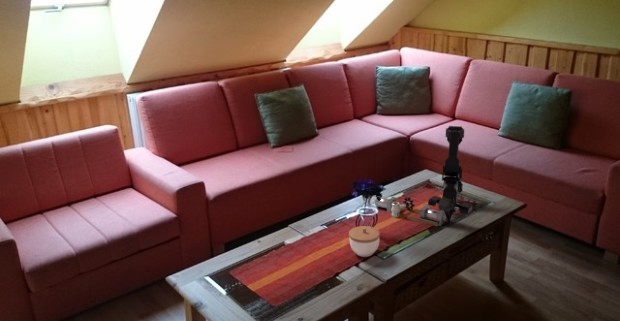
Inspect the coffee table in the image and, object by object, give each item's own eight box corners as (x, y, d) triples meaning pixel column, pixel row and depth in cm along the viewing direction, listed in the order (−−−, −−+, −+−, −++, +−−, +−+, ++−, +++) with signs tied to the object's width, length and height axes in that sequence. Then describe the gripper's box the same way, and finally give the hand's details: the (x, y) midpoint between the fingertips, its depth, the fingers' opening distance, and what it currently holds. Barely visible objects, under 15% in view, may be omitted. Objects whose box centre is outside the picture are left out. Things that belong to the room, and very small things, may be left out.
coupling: (420, 220, 242) (420, 209, 240) (425, 215, 246) (426, 204, 244) (440, 225, 236) (441, 214, 234) (445, 220, 241) (446, 209, 239)
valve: (397, 219, 244) (414, 211, 251) (398, 206, 242) (415, 199, 249) (387, 215, 249) (404, 207, 256) (387, 202, 247) (404, 195, 254)
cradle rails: (415, 211, 251) (415, 208, 250) (445, 218, 242) (445, 216, 242) (406, 218, 244) (407, 215, 244) (437, 226, 236) (437, 223, 235)
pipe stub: (374, 208, 256) (374, 197, 254) (380, 204, 260) (380, 193, 259) (390, 212, 251) (390, 201, 249) (396, 208, 255) (396, 197, 253)
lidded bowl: (345, 257, 213) (345, 233, 209) (353, 243, 224) (353, 220, 220) (375, 262, 209) (375, 237, 205) (382, 247, 220) (382, 223, 216)
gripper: (423, 191, 230) (422, 223, 236) (464, 200, 220) (462, 233, 225) (433, 183, 239) (432, 214, 244) (473, 191, 228) (471, 223, 233)
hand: (449, 221), depth 236 cm, fingers closed
